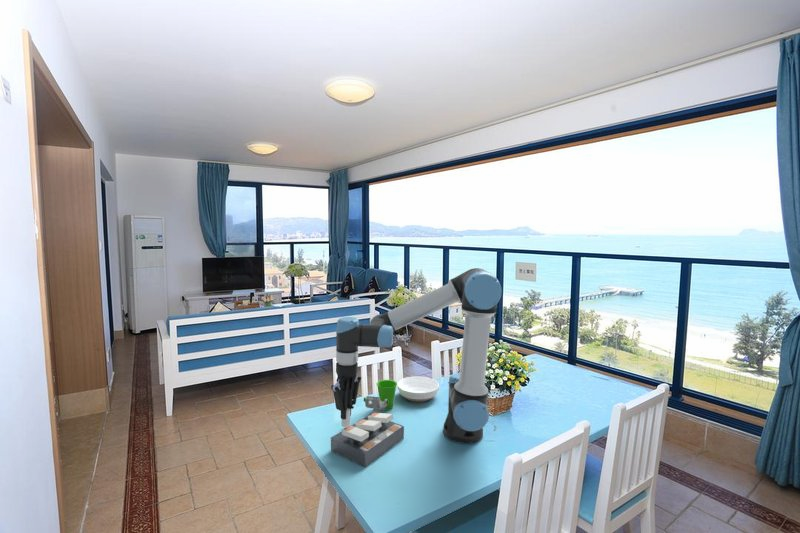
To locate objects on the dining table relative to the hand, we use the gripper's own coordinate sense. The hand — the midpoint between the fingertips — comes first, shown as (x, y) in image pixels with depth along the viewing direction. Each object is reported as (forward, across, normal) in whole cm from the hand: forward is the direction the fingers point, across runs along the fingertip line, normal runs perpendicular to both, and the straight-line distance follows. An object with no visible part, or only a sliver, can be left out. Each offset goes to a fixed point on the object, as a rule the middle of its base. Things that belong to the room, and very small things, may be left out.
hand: (345, 426), depth 138 cm
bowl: (+9, -52, -3) cm, 53 cm away
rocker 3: (+1, -14, +4) cm, 15 cm away
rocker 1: (+1, 0, +4) cm, 5 cm away
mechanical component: (+9, -22, -4) cm, 24 cm away
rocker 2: (+1, -7, +4) cm, 8 cm away
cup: (+9, -34, -8) cm, 37 cm away
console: (+9, -7, +5) cm, 12 cm away
